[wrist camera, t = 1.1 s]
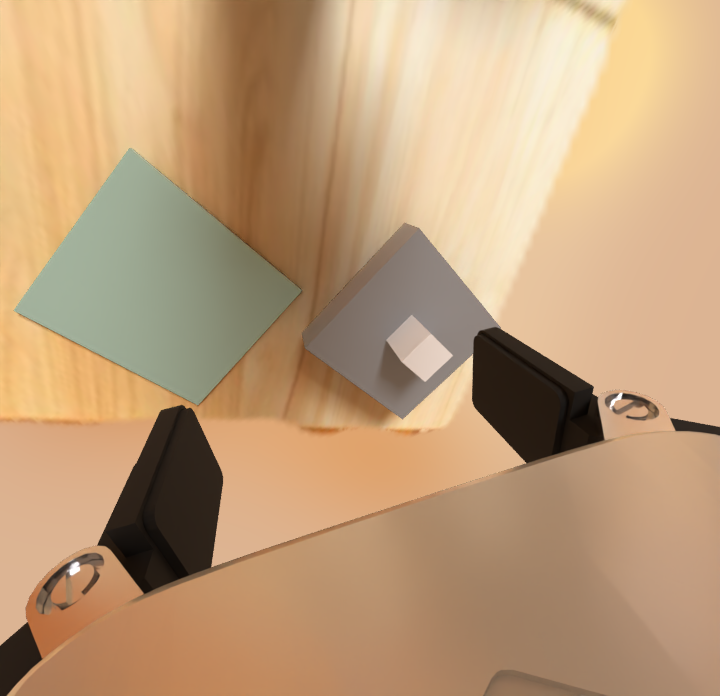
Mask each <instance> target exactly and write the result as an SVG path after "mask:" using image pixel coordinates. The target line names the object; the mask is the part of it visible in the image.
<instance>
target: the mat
mask: <svg viewBox="0 0 720 696" xmlns="http://www.w3.org/2000/svg"><path fill="white" fill-rule="evenodd" d="M301 292H302V290H301V289H300V288H299V287H298V286H296V285H295V284H294V283H293V282H292V281H290V280H289V279H288V278H287V277H286V276H284V275H283V274H282V273H281V272H280V271H278V270H277V269H276V268H275V267H274V266H272V265H271V264H270V263H269V262H268V261H266V260H265V259H264V258H263V257H262V256H260V255H259V254H258V253H257V252H256V251H254V250H253V249H252V248H251V247H250V246H248V245H247V244H246V243H245V242H244V241H242V240H241V239H240V238H239V237H238V236H236V235H235V234H234V233H233V232H232V231H230V230H229V229H228V228H227V227H226V226H224V225H223V224H222V223H221V222H220V221H218V220H217V219H216V218H215V217H214V216H212V215H211V214H210V213H209V212H208V211H206V210H205V209H204V208H203V207H202V206H200V205H199V204H198V203H197V202H196V201H194V200H193V199H192V198H191V197H190V196H188V195H187V194H186V193H185V192H184V191H182V190H181V189H180V188H179V187H178V186H176V185H175V184H174V183H173V182H172V181H170V180H169V179H168V178H167V177H166V176H164V175H163V174H162V173H161V172H159V171H158V170H157V169H156V168H155V167H153V166H152V165H151V164H150V163H149V162H147V161H146V160H145V159H144V158H143V157H141V156H140V155H139V154H138V153H137V152H135V151H134V150H133V149H132V148H129V149H128V151H127V152H126V154H125V155H124V156H123V158H122V159H121V161H120V162H119V163H118V165H117V166H116V168H115V169H114V170H113V172H112V173H111V175H110V176H109V177H108V179H107V180H106V182H105V183H104V184H103V186H102V187H101V189H100V190H99V191H98V193H97V194H96V196H95V197H94V198H93V200H92V201H91V203H90V204H89V205H88V207H87V208H86V210H85V211H84V212H83V214H82V215H81V217H80V218H79V219H78V221H77V222H76V224H75V225H74V227H73V228H72V229H71V231H70V232H69V234H68V235H67V236H66V238H65V239H64V241H63V242H62V243H61V245H60V246H59V248H58V249H57V250H56V252H55V253H54V255H53V256H52V257H51V259H50V260H49V262H48V263H47V264H46V266H45V267H44V269H43V270H42V271H41V273H40V274H39V276H38V277H37V278H36V280H35V281H34V283H33V284H32V285H31V287H30V288H29V290H28V291H27V292H26V294H25V295H24V297H23V298H22V299H21V301H20V302H19V304H18V305H17V306H16V308H15V309H14V311H15V312H17V313H19V314H21V315H23V316H25V317H27V318H29V319H31V320H33V321H35V322H37V323H39V324H40V325H42V326H44V327H46V328H48V329H50V330H52V331H54V332H56V333H58V334H60V335H62V336H64V337H66V338H68V339H70V340H72V341H74V342H76V343H77V344H79V345H81V346H83V347H85V348H87V349H89V350H91V351H93V352H95V353H97V354H99V355H101V356H103V357H105V358H107V359H109V360H111V361H113V362H114V363H116V364H118V365H120V366H122V367H124V368H126V369H128V370H130V371H132V372H134V373H136V374H138V375H140V376H142V377H144V378H146V379H148V380H150V381H151V382H153V383H155V384H157V385H159V386H161V387H163V388H165V389H167V390H169V391H171V392H173V393H175V394H177V395H179V396H181V397H183V398H185V399H187V400H188V401H190V402H192V403H194V404H196V405H199V404H200V403H201V402H202V400H203V399H204V398H205V397H206V396H207V395H208V394H209V393H210V392H211V391H212V389H213V388H214V387H215V386H216V385H217V384H218V383H219V382H220V381H221V380H222V378H223V377H224V376H225V375H226V374H227V373H228V372H229V371H230V370H231V369H232V367H233V366H234V365H235V364H236V363H237V362H238V361H239V360H240V359H241V358H242V356H243V355H244V354H245V353H246V352H247V351H248V350H249V349H250V348H251V347H252V345H253V344H254V343H255V342H256V341H257V340H258V339H259V338H260V337H261V336H262V334H263V333H264V332H265V331H266V330H267V329H268V328H269V327H270V326H271V325H272V323H273V322H274V321H275V320H276V319H277V318H278V317H279V316H280V315H281V314H282V312H283V311H284V310H285V309H286V308H287V307H288V306H289V305H290V304H291V303H292V301H293V300H294V299H295V298H296V297H297V296H298V295H299V294H300V293H301Z"/></svg>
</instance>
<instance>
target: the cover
mask: <svg viewBox="0 0 720 696" xmlns="http://www.w3.org/2000/svg"><path fill="white" fill-rule="evenodd" d="M492 327H498V328H501V327H500V326H499V325H498V324H497V323H496V321H495V320H494V319H493V318H492V317H491V315H490V314H489V313H488V312H487V310H486V309H485V308H484V307H483V306H482V304H481V303H480V302H479V301H478V299H477V298H476V297H475V296H474V295H473V293H472V292H471V291H470V290H469V288H468V287H467V286H466V285H465V284H464V282H463V281H462V280H461V279H460V278H459V276H458V275H457V274H456V273H455V271H454V270H453V269H452V268H451V267H450V265H449V264H448V263H447V262H446V260H445V259H444V258H443V257H442V256H441V254H440V253H439V252H438V251H437V249H436V248H435V247H434V246H433V245H432V243H431V242H430V241H429V240H428V239H427V237H426V236H425V235H424V234H423V232H422V231H421V230H420V229H419V228H417V227H414V226H412V225H409V224H406V223H404V224H403V225H402V226H401V227H400V228H399V229H398V230H397V231H396V233H395V234H394V235H393V236H392V237H391V238H390V239H389V240H388V241H387V242H386V243H385V244H384V245H383V246H382V248H381V249H380V250H379V251H378V252H377V253H376V254H375V255H374V256H373V257H372V258H371V259H370V260H369V261H368V262H367V264H366V265H365V266H364V267H363V268H362V269H361V270H360V271H359V272H358V273H357V274H356V275H355V276H354V277H353V278H352V280H351V281H350V282H349V283H348V284H347V285H346V286H345V287H344V288H343V289H342V290H341V291H340V292H339V293H338V294H337V296H336V297H335V298H334V299H333V300H332V301H331V302H330V303H329V304H328V305H327V306H326V307H325V308H324V309H323V311H322V312H321V313H320V314H319V315H318V316H317V317H316V318H315V319H314V320H313V321H312V322H311V323H310V324H309V325H308V327H307V328H306V329H305V330H304V331H303V332H302V337H303V342H304V346H305V349H306V350H308V351H309V352H311V353H312V354H313V355H315V356H316V357H317V358H319V359H320V360H322V361H323V362H324V363H326V364H327V365H328V366H330V367H331V368H333V369H334V370H335V371H337V372H338V373H339V374H341V375H342V376H344V377H345V378H346V379H348V380H349V381H350V382H352V383H353V384H355V385H356V386H357V387H359V388H360V389H361V390H363V391H364V392H366V393H367V394H368V395H370V396H371V397H373V398H374V399H375V400H377V401H378V402H379V403H381V404H382V405H384V406H385V407H386V408H388V409H389V410H390V411H392V412H393V413H395V414H396V415H397V416H399V417H400V418H401V419H403V418H404V417H405V416H407V415H408V414H409V413H410V412H411V411H412V410H413V409H414V408H415V407H416V406H417V405H418V404H420V403H421V402H422V401H423V400H424V399H425V398H426V397H427V396H428V395H429V394H430V393H431V392H432V391H434V390H435V389H436V388H437V387H438V386H439V385H440V384H441V383H442V382H443V381H444V380H445V379H446V378H448V377H449V376H450V375H451V374H452V373H453V372H454V371H455V370H456V369H457V368H458V367H459V366H461V365H462V364H463V363H464V362H465V361H466V360H467V359H468V358H469V357H470V356H471V355H472V354H473V341H474V337H475V336H477V334H478V332H479V331H480V330H484V329H488V328H492Z"/></svg>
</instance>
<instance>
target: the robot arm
mask: <svg viewBox="0 0 720 696" xmlns="http://www.w3.org/2000/svg"><path fill="white" fill-rule="evenodd" d="M593 388H594V387H593V386H592V385H590V384H589V383H587V382H585V381H584V380H582V379H580V378H579V377H577V376H576V375H574V374H572V373H571V372H569V371H567V370H566V369H564V368H563V367H561V366H559V365H558V364H556V363H555V362H553V361H551V360H550V359H548V358H547V357H545V356H543V355H541V354H540V353H538V352H537V351H535V350H534V349H532V348H530V347H529V346H527V345H525V344H524V343H522V342H521V341H519V340H517V339H516V338H514V337H512V336H511V335H509V334H508V333H506V332H504V331H503V330H501V329H500V328H498V327H492V328H488V329H484V330H480V331H479V332H478V334H477V336H475V337H474V341H473V386H472V401H473V404H474V407H475V408H476V409H477V410H478V412H479V413H480V414H481V415H482V416H483V417H484V418H485V419H486V420H487V421H488V422H489V423H490V425H492V427H493V428H494V429H495V430H496V431H497V432H498V433H499V434H500V435H501V436H502V437H503V438H504V439H505V441H506V442H507V443H508V444H509V445H510V446H511V447H512V448H513V449H514V450H515V451H516V452H517V453H518V454H519V456H520V457H521V458H522V459H523V460H525V462H526V464H523V465H520V466H517V467H514V468H511V469H507V470H504V471H501V472H498V473H495V474H492V475H489V476H486V477H482V478H479V479H476V480H473V481H470V482H467V483H464V484H461V485H457V486H454V487H451V488H449V489H445V490H442V491H439V492H436V493H433V494H430V495H427V496H424V497H421V498H417V499H415V500H411V501H408V502H405V503H402V504H399V505H396V506H393V507H390V508H387V509H384V510H381V511H378V512H375V513H372V514H368V515H365V516H362V517H360V518H356V519H354V520H350V521H347V522H344V523H341V524H338V525H336V526H332V527H330V528H326V529H323V530H320V531H317V532H314V533H311V534H308V535H305V536H302V537H300V538H296V539H293V540H290V541H287V542H284V543H281V544H278V545H275V546H272V547H269V548H266V549H263V550H260V551H257V552H254V553H251V554H249V555H246V556H243V557H240V558H237V559H234V560H231V561H229V562H226V563H223V564H220V565H217V566H214V567H211V564H212V557H213V550H214V542H215V536H216V529H217V521H218V515H219V507H220V500H221V493H222V486H223V476H222V472H221V469H220V467H219V465H218V463H217V460H216V458H215V456H214V454H213V452H212V450H211V448H210V445H209V443H208V441H207V439H206V437H205V435H204V433H203V431H202V428H201V426H200V424H199V422H198V420H197V418H196V415H195V413H194V411H193V410H192V409H191V408H188V409H186V408H185V407H184V406H183V405H180V406H176V407H172V408H168V409H164V410H161V412H160V413H159V415H158V417H157V420H156V422H155V424H154V426H153V428H152V431H151V433H150V435H149V437H148V439H147V441H146V444H145V446H144V448H143V450H142V452H141V455H140V457H139V459H138V461H137V463H136V464H135V466H134V467H133V469H132V471H131V473H130V476H129V478H128V480H127V482H126V485H125V487H124V489H123V491H122V493H121V495H120V497H119V499H118V502H117V504H116V506H115V508H114V510H113V512H112V514H111V517H110V519H109V521H108V523H107V525H106V528H105V530H104V532H103V534H102V536H101V538H100V540H99V543H98V545H97V546H92V547H88V548H85V549H82V550H80V551H78V552H76V553H74V554H72V555H71V556H69V557H67V558H66V559H64V560H63V561H62V562H60V563H59V564H58V565H57V566H55V567H54V568H53V569H52V570H51V571H49V572H48V573H47V574H46V576H45V577H44V578H43V579H42V580H41V581H40V582H39V583H38V585H37V586H36V588H35V589H34V591H33V592H32V594H31V595H30V597H29V600H28V603H27V606H26V619H27V621H28V622H27V623H26V624H25V625H24V626H23V627H21V628H20V629H19V630H18V631H17V632H16V633H15V634H13V635H12V636H11V637H10V638H9V639H7V640H6V641H5V642H4V643H3V644H2V645H1V646H0V696H720V427H716V426H711V425H705V424H700V423H695V422H689V421H684V420H678V419H672V418H670V417H669V415H668V413H667V411H666V409H665V408H664V406H663V405H662V404H660V403H659V402H658V401H656V400H654V399H653V398H651V397H649V396H646V395H643V394H640V393H637V392H632V391H627V390H612V391H606V392H604V393H602V394H601V395H600V396H599V397H597V396H595V395H593V394H592V393H593Z"/></svg>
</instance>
